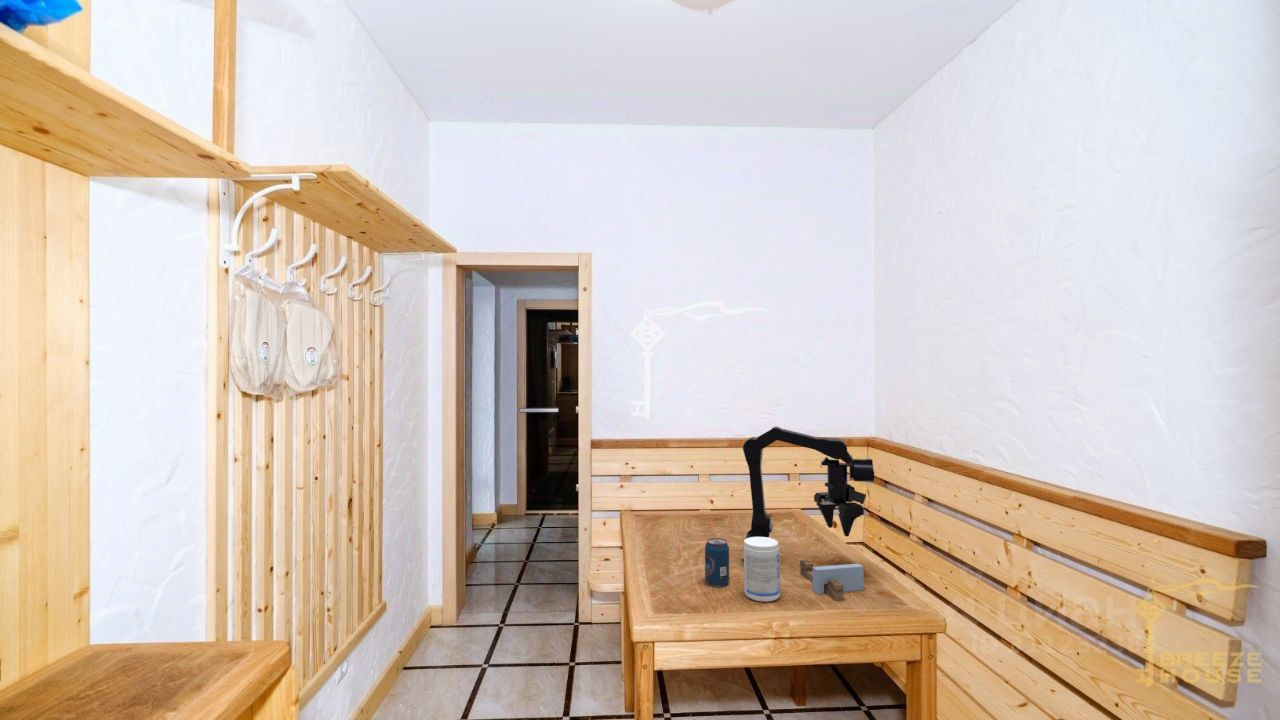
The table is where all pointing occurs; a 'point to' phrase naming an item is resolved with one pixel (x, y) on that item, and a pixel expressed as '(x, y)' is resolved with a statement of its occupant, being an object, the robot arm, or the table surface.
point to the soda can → (717, 562)
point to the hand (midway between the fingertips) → (838, 531)
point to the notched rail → (831, 588)
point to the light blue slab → (839, 577)
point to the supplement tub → (761, 569)
